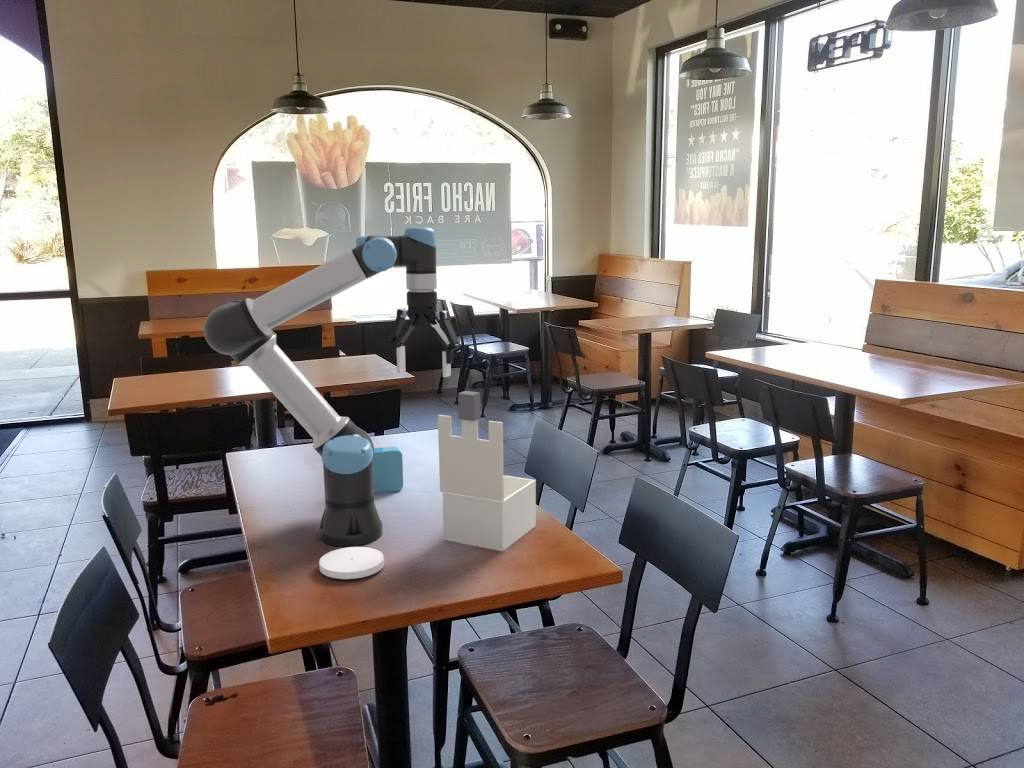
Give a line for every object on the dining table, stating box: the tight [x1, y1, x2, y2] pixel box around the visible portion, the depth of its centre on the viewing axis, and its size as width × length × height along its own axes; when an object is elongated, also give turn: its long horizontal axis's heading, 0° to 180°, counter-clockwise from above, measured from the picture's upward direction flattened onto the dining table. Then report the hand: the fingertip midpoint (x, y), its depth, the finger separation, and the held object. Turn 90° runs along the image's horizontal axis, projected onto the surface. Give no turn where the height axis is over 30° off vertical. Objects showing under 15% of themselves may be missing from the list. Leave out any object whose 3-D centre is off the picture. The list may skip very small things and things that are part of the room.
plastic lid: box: [318, 546, 385, 580], centre depth 182 cm, size 14×14×2 cm
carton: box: [442, 474, 537, 552], centre depth 202 cm, size 18×16×12 cm
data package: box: [373, 446, 404, 494], centre depth 234 cm, size 12×4×12 cm, turn 106°
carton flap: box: [437, 390, 504, 502], centre depth 190 cm, size 25×17×3 cm
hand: (423, 374), depth 210 cm, fingers open, 13 cm apart
